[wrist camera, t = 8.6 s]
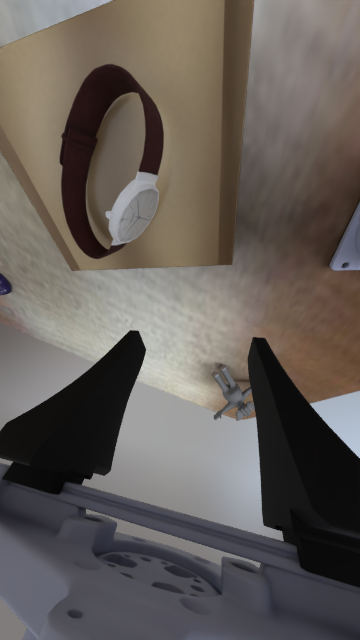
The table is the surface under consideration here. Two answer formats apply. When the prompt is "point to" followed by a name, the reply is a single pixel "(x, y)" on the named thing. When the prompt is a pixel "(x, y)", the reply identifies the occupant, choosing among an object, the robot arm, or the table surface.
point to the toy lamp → (4, 286)
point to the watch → (78, 149)
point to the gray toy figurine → (233, 395)
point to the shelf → (137, 123)
